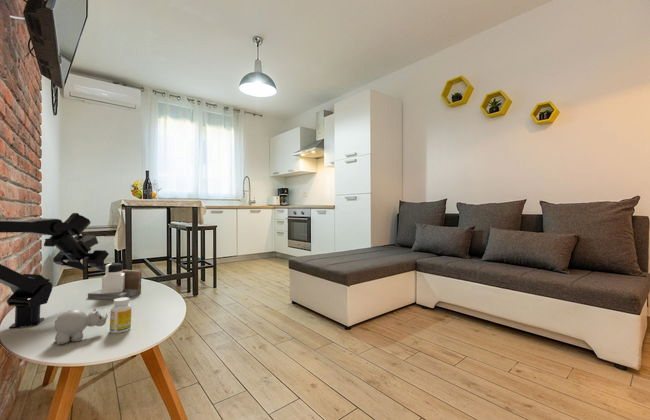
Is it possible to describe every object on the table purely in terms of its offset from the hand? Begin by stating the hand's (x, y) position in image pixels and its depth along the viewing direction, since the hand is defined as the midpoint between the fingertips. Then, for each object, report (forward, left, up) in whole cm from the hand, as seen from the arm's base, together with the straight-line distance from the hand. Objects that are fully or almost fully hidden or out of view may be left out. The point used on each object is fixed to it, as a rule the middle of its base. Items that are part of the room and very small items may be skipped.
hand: (94, 269), depth 117 cm
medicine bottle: (+8, -5, -11) cm, 15 cm away
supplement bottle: (-37, -14, -13) cm, 42 cm away
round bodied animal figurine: (-39, -5, -13) cm, 42 cm away
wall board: (+8, -5, -13) cm, 16 cm away
